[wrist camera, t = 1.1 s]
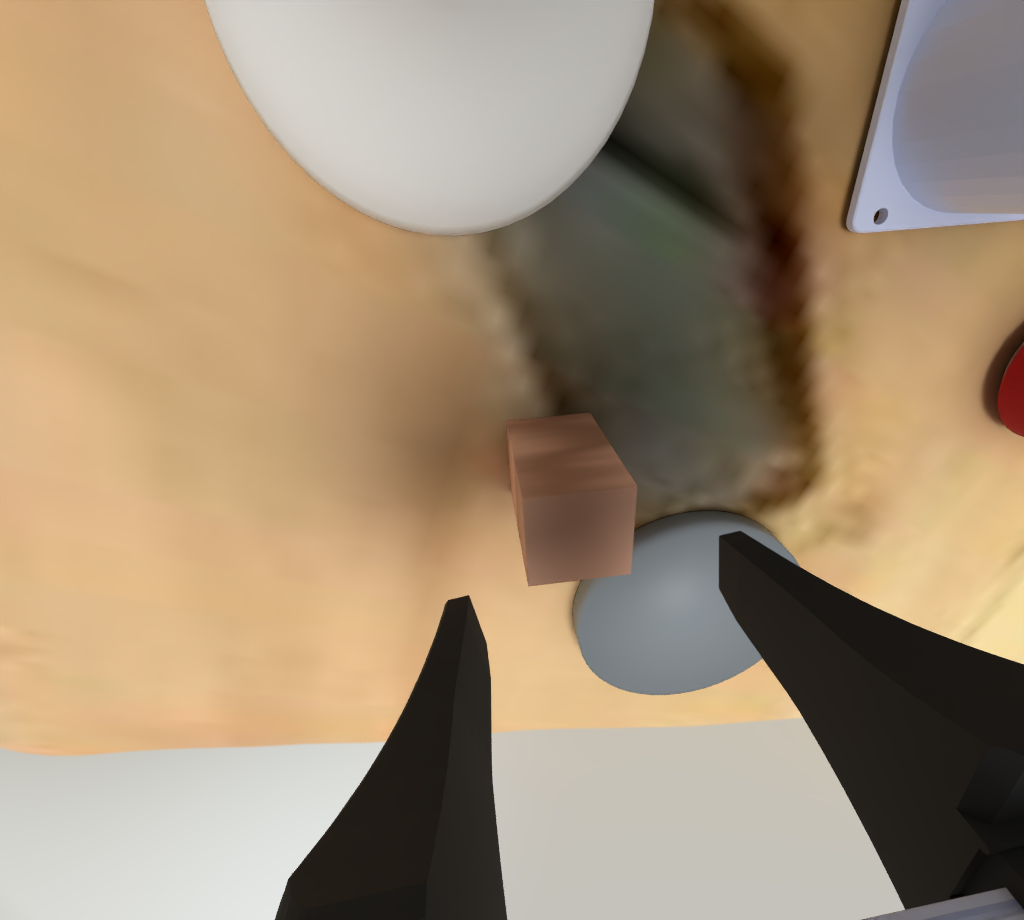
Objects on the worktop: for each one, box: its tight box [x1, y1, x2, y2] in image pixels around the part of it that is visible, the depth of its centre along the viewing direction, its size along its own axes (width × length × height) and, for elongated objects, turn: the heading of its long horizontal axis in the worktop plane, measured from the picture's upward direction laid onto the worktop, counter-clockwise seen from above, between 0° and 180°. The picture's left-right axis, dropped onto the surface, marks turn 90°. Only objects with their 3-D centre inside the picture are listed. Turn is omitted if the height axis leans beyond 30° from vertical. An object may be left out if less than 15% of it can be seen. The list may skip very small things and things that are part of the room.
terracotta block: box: [506, 413, 638, 586], centre depth 18 cm, size 4×4×6 cm
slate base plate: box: [573, 511, 800, 695], centre depth 25 cm, size 12×12×2 cm
